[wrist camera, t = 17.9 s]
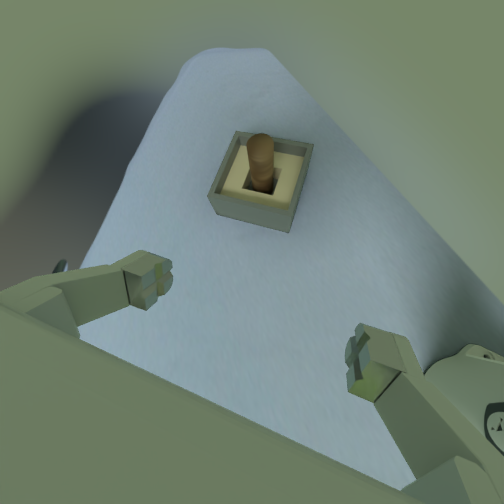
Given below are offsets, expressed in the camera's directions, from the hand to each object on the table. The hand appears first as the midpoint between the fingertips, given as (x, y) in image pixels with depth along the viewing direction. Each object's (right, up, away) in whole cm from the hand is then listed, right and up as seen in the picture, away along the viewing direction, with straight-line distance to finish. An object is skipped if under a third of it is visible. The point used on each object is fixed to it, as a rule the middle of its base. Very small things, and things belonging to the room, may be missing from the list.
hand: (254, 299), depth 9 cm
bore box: (+2, +15, +36) cm, 40 cm away
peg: (+2, +16, +35) cm, 39 cm away
